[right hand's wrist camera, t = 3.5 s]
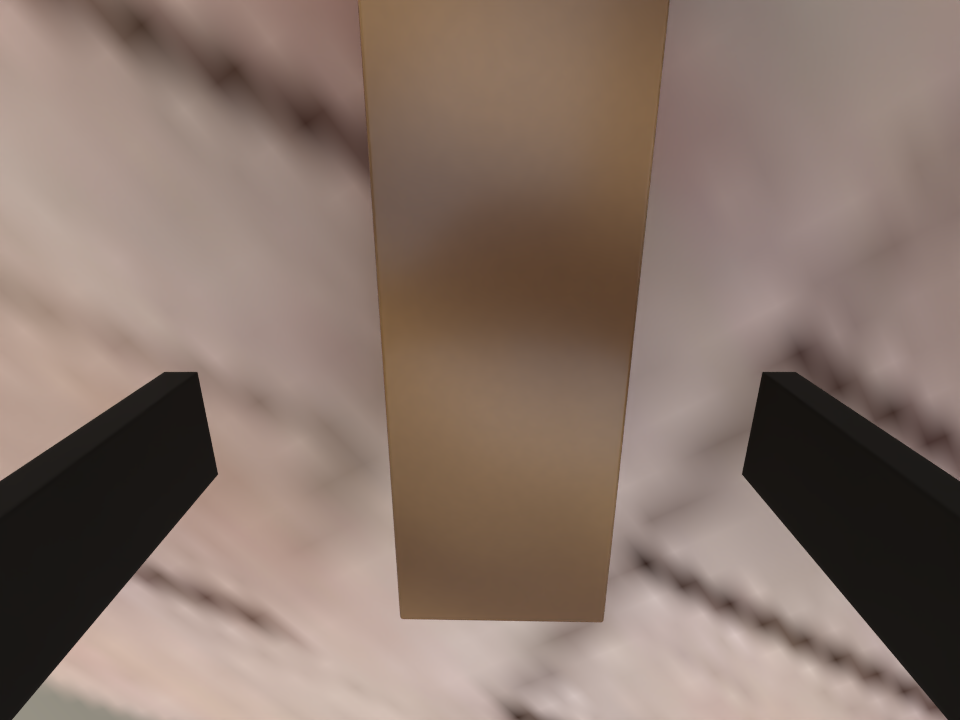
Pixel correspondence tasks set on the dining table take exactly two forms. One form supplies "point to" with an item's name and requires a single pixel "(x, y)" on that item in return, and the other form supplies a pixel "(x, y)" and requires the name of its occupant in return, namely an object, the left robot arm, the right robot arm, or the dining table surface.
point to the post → (508, 288)
